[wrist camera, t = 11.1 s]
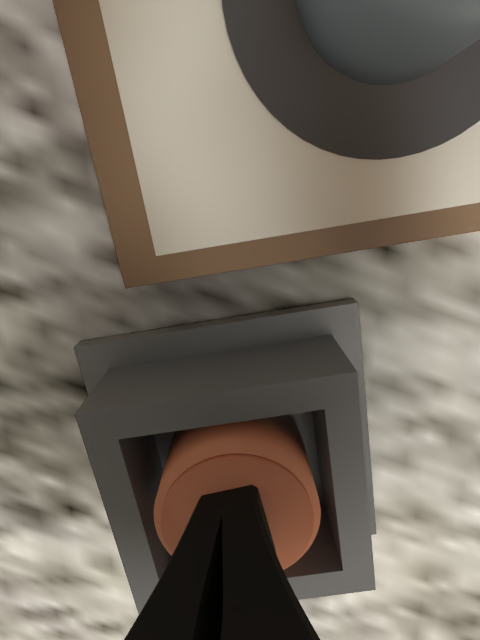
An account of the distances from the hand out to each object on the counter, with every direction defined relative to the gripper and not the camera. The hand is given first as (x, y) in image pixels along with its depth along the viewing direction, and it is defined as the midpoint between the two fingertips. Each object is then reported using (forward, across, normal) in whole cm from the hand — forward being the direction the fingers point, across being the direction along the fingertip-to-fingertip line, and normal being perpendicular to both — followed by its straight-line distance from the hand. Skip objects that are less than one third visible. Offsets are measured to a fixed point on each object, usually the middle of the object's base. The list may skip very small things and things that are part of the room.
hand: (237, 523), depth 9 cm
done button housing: (+3, 0, 0) cm, 3 cm away
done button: (+3, 0, 0) cm, 3 cm away
